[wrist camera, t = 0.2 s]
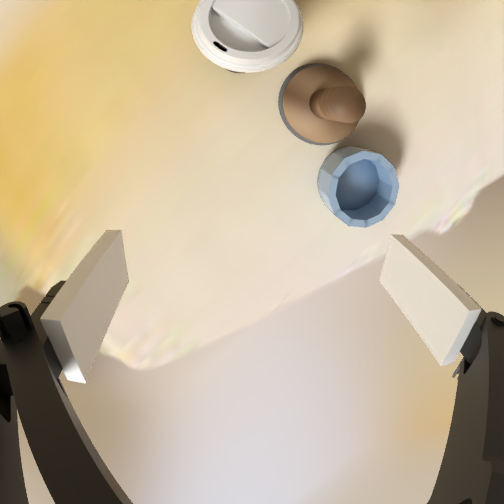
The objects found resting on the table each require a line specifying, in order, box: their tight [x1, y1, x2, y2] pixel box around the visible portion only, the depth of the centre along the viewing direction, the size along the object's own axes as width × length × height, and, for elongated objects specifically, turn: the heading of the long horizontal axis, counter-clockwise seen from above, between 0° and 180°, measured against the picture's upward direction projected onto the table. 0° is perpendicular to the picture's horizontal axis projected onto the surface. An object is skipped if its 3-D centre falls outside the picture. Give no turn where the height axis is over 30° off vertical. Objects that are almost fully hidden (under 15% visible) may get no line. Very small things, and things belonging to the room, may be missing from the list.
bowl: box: [318, 146, 399, 228], centre depth 39 cm, size 10×10×5 cm
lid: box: [282, 66, 366, 143], centre depth 31 cm, size 10×10×9 cm
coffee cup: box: [192, 0, 303, 73], centre depth 25 cm, size 10×10×15 cm
